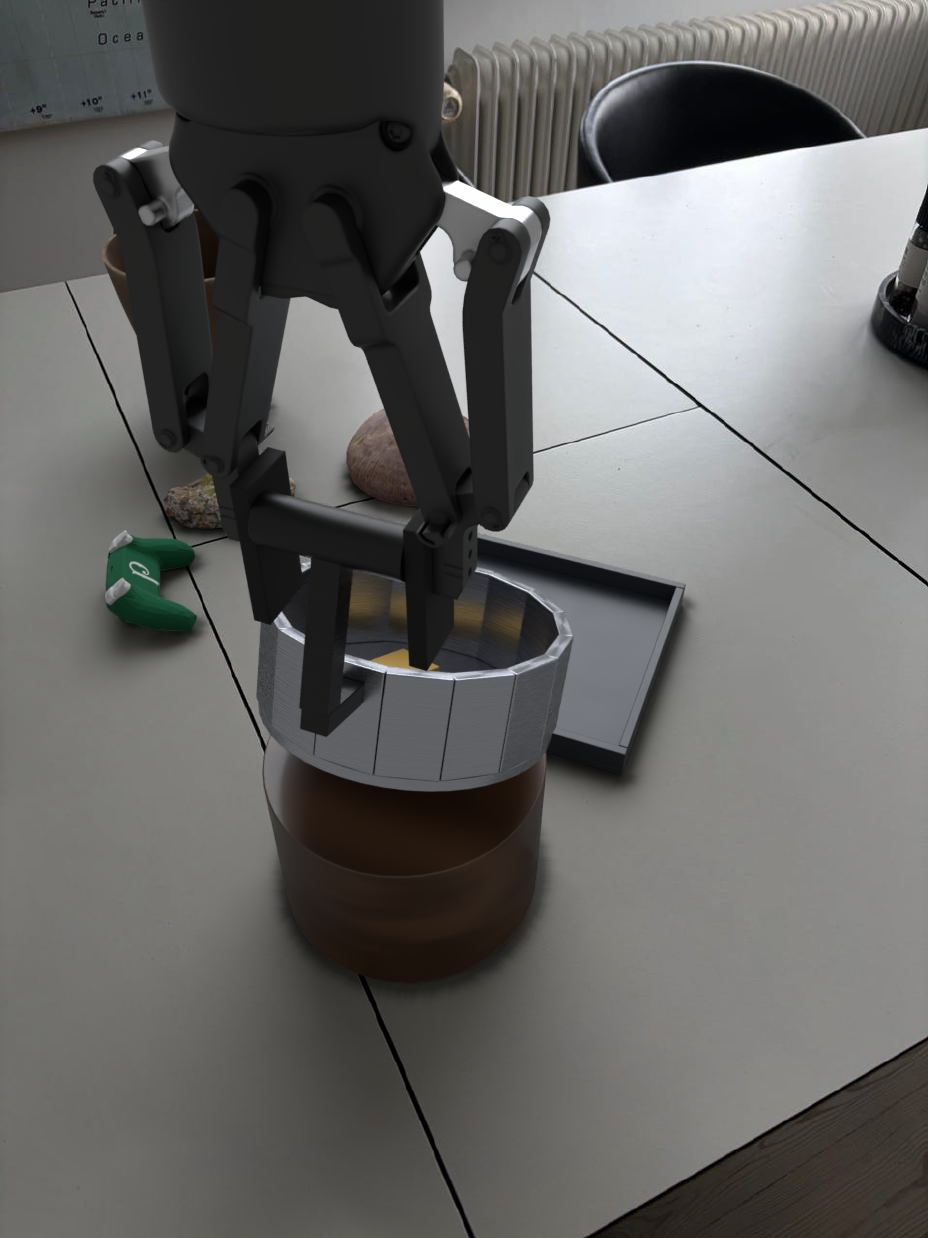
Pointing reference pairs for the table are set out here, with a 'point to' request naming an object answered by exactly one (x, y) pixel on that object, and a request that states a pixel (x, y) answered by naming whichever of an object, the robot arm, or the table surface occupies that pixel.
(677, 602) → the tray
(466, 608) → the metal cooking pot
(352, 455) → the decorative stone
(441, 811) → the stand
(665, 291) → the table surface
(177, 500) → the mineral rock
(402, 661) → the brass key
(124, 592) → the gaming controller
